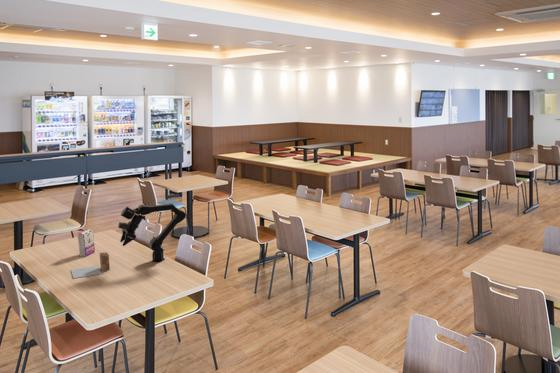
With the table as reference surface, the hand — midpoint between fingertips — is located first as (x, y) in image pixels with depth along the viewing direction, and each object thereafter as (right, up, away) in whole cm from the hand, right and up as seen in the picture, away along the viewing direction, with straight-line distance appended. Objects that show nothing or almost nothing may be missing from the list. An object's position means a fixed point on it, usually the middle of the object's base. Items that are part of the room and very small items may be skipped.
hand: (121, 243), depth 310 cm
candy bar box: (-33, -11, +27) cm, 44 cm away
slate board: (-20, -17, -8) cm, 27 cm away
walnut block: (-10, -16, -3) cm, 19 cm away
